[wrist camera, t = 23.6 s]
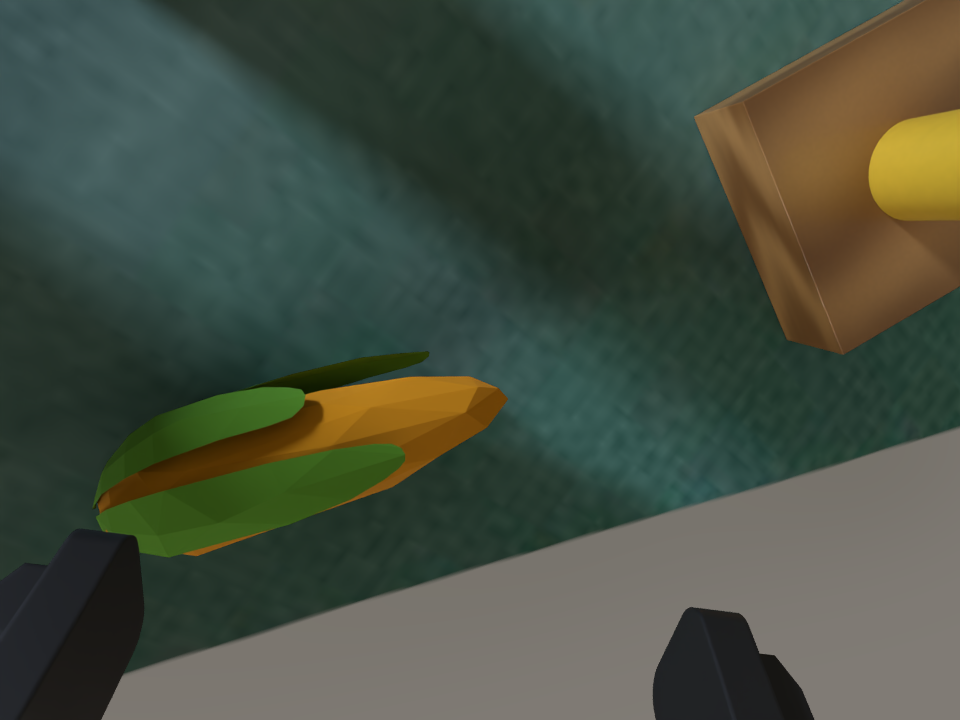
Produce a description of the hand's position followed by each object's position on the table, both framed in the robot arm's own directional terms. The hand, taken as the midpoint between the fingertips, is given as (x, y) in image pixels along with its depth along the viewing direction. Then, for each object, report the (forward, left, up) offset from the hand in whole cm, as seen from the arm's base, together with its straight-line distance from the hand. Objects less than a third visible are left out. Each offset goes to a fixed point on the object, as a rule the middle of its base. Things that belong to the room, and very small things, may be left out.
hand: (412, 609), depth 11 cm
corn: (+4, -4, -28) cm, 29 cm away
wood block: (0, +28, -28) cm, 40 cm away
